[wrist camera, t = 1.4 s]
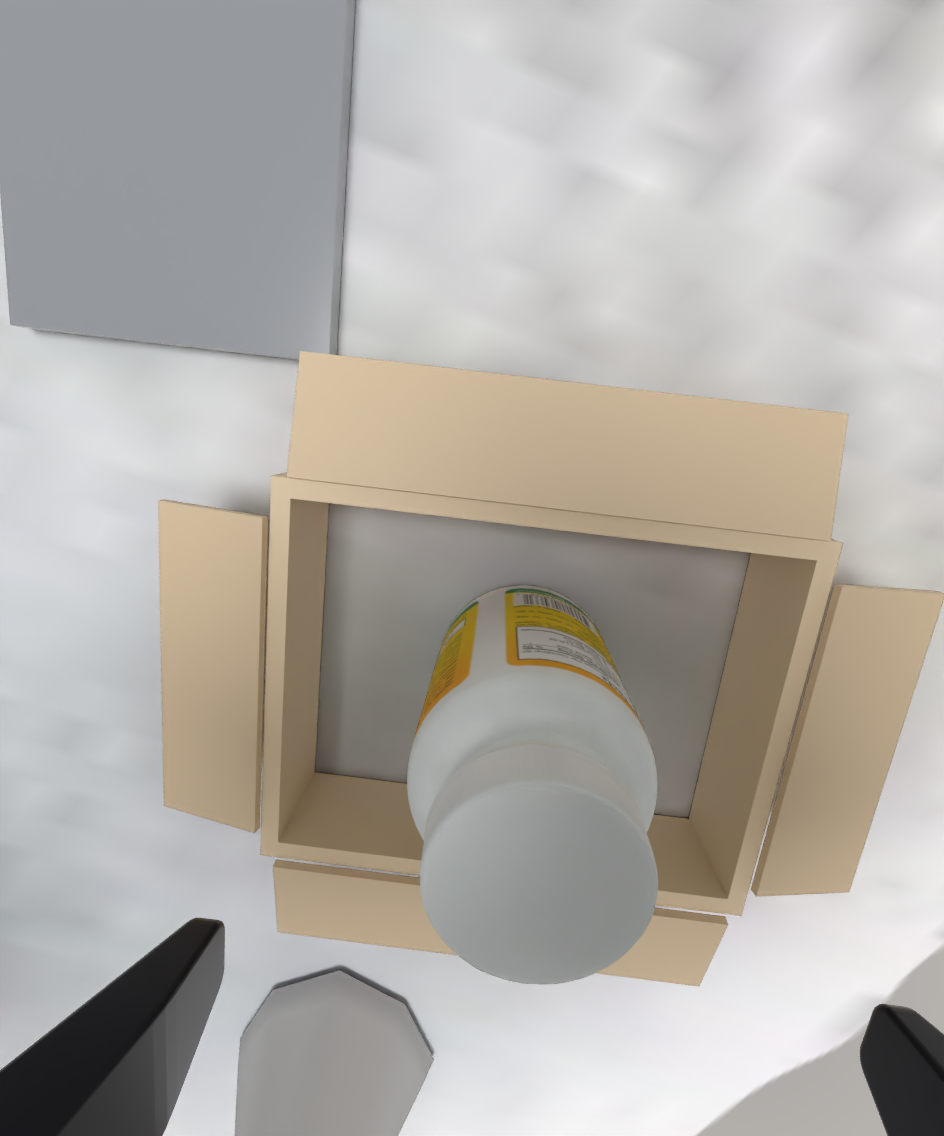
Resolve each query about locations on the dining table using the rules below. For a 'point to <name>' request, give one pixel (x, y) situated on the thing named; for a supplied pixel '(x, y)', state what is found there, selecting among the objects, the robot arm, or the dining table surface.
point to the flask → (329, 1062)
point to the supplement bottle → (532, 793)
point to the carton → (560, 502)
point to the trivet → (176, 169)
